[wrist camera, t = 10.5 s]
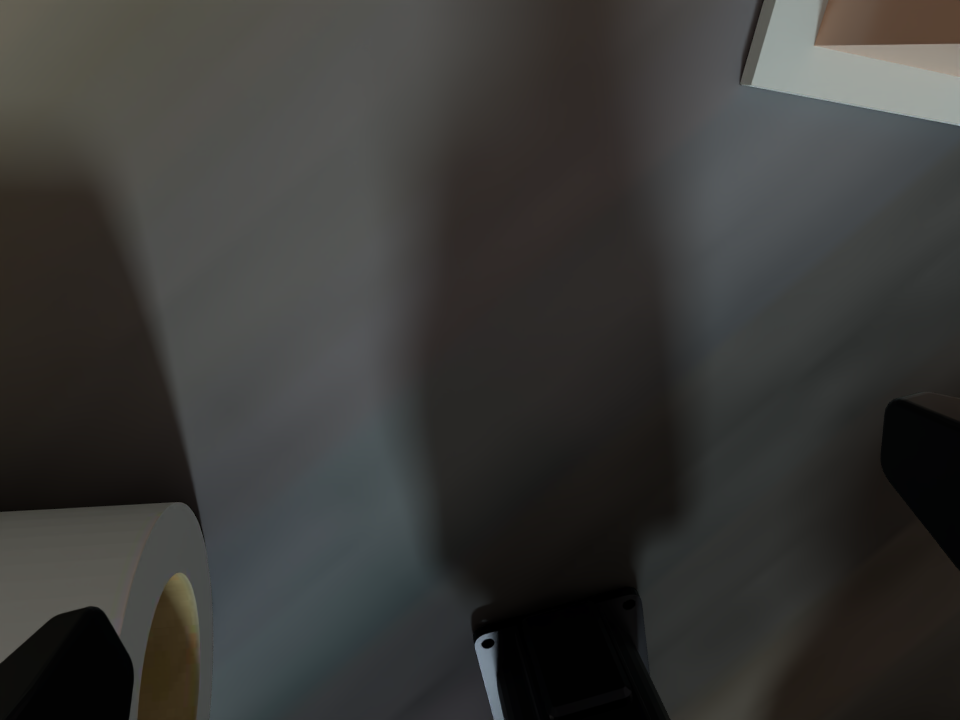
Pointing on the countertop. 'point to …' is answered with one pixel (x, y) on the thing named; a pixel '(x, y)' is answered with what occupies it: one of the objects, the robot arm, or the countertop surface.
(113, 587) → the toilet paper
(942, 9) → the brown rectangular block
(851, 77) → the mat
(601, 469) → the countertop surface
